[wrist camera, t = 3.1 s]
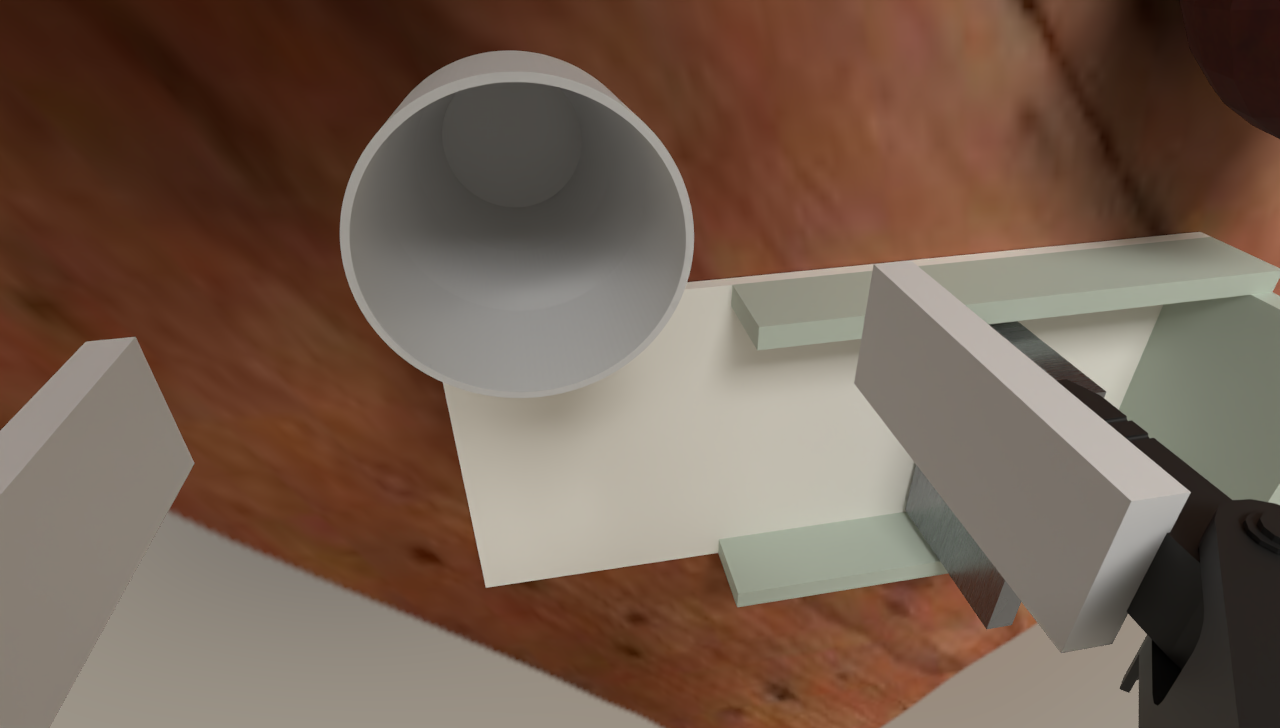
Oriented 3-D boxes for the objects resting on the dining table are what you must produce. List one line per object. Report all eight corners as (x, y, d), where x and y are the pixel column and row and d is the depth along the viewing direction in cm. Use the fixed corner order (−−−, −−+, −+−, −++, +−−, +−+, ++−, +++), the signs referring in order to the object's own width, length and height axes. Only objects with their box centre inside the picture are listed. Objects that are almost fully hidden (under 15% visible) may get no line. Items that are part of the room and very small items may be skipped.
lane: (485, 578, 36) (484, 743, 29) (429, 307, 28) (408, 446, 21) (1089, 488, 41) (1216, 612, 34) (1200, 231, 32) (1400, 324, 25)
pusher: (905, 509, 38) (986, 629, 31) (957, 296, 31) (1075, 396, 25) (926, 506, 38) (1011, 624, 32) (983, 293, 31) (1106, 391, 25)
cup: (357, 34, 22) (278, 110, 14) (610, -9, 23) (675, 40, 15) (432, 266, 27) (406, 426, 19) (642, 225, 28) (707, 363, 19)
